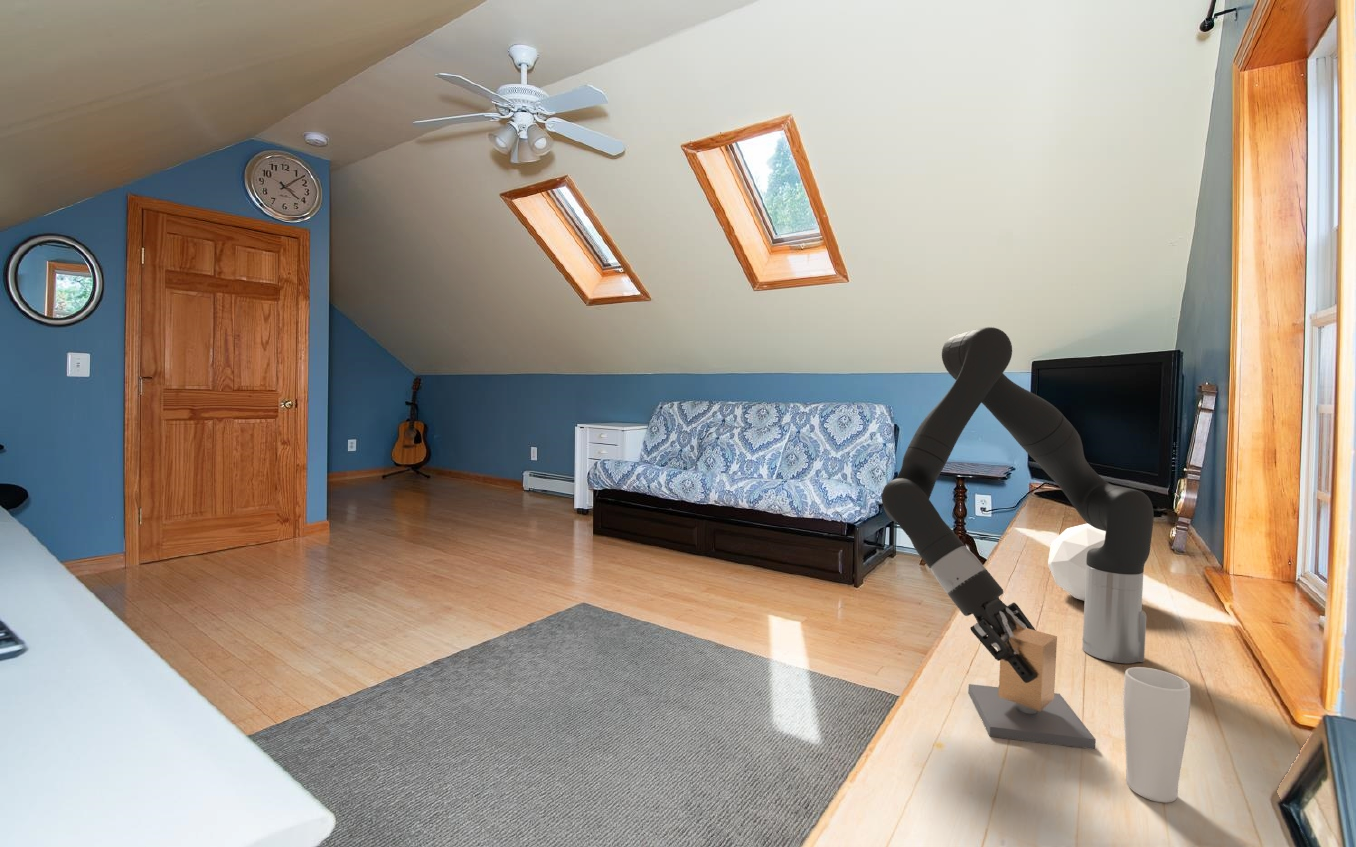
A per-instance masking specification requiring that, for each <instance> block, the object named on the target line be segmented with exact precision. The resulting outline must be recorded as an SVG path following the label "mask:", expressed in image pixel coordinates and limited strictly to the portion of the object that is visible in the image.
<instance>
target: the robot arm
mask: <svg viewBox="0 0 1356 847" xmlns="http://www.w3.org/2000/svg"><path fill="white" fill-rule="evenodd" d="M1012 356H1013V345H1012V341H1011V339H1010V336H1008V335H1007V333H1005V332H1004V331H1003V330H1001V329H999V328H997V327H992V326H991V327H990V326H987V327H979V328H977V329H973V330H969V331H965V332H963V333H959V334H956V335H953V336H951V337H950V338H949V339H947V340H946V341H945V343H944V344H943V347H942V349H941V360H942V364H943V366H944V368H945V370H946V371H947V373H948V374H949V375H950V376H951V378H953V379H954V380H955V381H954V383H953V385H951V387H950V389H949V390H948V391H947V392H946V394H945V395H944V396H943V398H941V400H940V401H939V402H938V404H936V405H935V407H934V408H933V409H932V410H931V411H929V413H928V414H927V415H926V416H925V417H924V419H923V420H922V422H921V423H920V424H919V426H918V428H917V430H916V431H915V432H914V434H913V437H912V439H911V441H910V443H909V445H908V446H907V449H906V451H905V453H904V455H903V458H902V465H901V468H900V470H899V472H898V474H897V475H896V476H897V477H896V478H894V479H892V480H890V481H889V482H888V483H886V485H885V486H884V487H883V489H882V492H881V502H882V503H881V504H882V507H883V509H884V512H885V513H886V515H887V517H888V518H889V519H890V520H891V521H893V522H895V523H897V524H898V525H899V527H900V528H901V530H902V531H903V532H904V533H905V535H907V537H908V538H909V539H910V541H911V543H912V546H913V547H914V549H915V551H916V552H917V554H918V555H919V556H920V558H921V559H922V560H923V561H924V563H925V564H926V566H928V568H929V569H930V571H931V572H932V574H933V576H934V577H935V579H936V580H937V582H938V583H939V585H940V586H941V588H942V589H943V591H944V592H945V593H946V594H947V595H948V596H949V598H950V599H951V600H952V602H953V603H954V605H955V606H956V607H957V608H958V609H959V611H960V612H961V614H962V615H963V616H965V617H969V616H971V615H973V617H974V618H975V619H976V622H977V623H975V624H973V625H972V626H970V630H971V632H972V634H973V635H974V636H975V637H976V638H977V639H978V641H979V642H980V643H981V644H982V646H984V647H985V649H986V650H987V651H988V652H989V654H991V656H992V657H993V658H994V660H996V661H998V662H1000V660H1001V659H1003V660H1004V661H1006V662H1007V661H1008V662H1009V663H1010V665H1011V666H1012V667H1013V669H1014V670H1015V671H1016V672H1017V674H1018V675H1019V676H1020V678H1021V679H1022V680H1023V681H1024V682H1025V683H1028V682H1030V681H1032V680H1034V679H1035V678H1037V674H1036V672H1035V671H1034V670H1033V669H1032V667H1031V666H1030V665H1029V664H1028V662H1027V661H1026V660H1025V658H1024V657H1023V656H1022V655H1021V654H1020V655H1019V651H1018V649H1017V647H1016V646H1015V645H1014V644H1013V642H1012V641H1011V639H1012V637H1014V635H1013V633H1012V631H1013V630H1015V629H1017V628H1016V625H1017V626H1018V627H1019V628H1021V629H1026V628H1028V629H1032V630H1035V631H1037V630H1036V629H1035V627H1034V626H1033V625H1032V623H1031V622H1030V621H1029V618H1028V617H1027V616H1026V615H1025V614H1024V612H1023V611H1022V610H1021V608H1020V606H1019V605H1018V604H1017V603H1016V602H1012V603H1010V604H1008V605H1007V604H1006V603H1004V602H1003V601H1002V600H1001V599H1000V597H1001V596H1002V595H1003V594H1004V589H1003V588H1002V586H1001V585H1000V584H999V583H998V582H997V580H996V579H995V578H994V576H992V574H991V573H990V572H989V571H988V569H987V568H986V567H985V566H984V565H983V563H982V562H981V561H980V560H979V559H978V557H977V556H976V555H975V554H974V553H973V552H972V551H970V550H969V548H967V546H965V544H964V543H963V541H962V540H961V539H960V538H959V537H958V535H957V534H956V533H955V532H954V531H953V529H952V528H951V527H949V525H948V524H947V523H946V522H945V521H944V520H943V518H942V517H941V515H940V513H939V512H938V510H937V509H936V507H935V506H934V504H933V503H932V502H931V499H930V498H931V495H932V494H933V491H934V488H935V485H936V481H937V480H938V478H939V476H940V474H941V473H942V472H943V469H944V468H945V466H946V464H947V462H948V460H949V458H950V456H951V454H952V453H953V451H954V448H955V446H956V443H957V441H958V440H959V438H960V437H961V434H962V433H963V431H964V429H965V428H966V426H967V425H968V423H969V421H970V420H971V418H972V416H973V415H974V414H975V412H976V411H977V409H978V408H979V407H980V405H981V404H982V405H984V407H985V408H986V409H987V410H988V411H989V412H990V413H991V414H992V415H993V417H994V418H995V419H996V420H997V421H998V422H999V423H1000V424H1001V425H1002V426H1003V427H1004V428H1005V429H1006V430H1007V431H1008V432H1009V434H1010V435H1011V436H1012V438H1014V440H1015V441H1016V442H1017V443H1018V444H1019V446H1021V448H1022V449H1023V450H1024V451H1025V452H1026V453H1027V454H1028V455H1029V457H1031V459H1033V460H1034V461H1035V462H1036V463H1037V464H1038V465H1039V467H1041V469H1042V470H1043V471H1044V472H1045V473H1046V474H1047V475H1048V477H1050V479H1051V480H1053V481H1054V482H1055V484H1056V485H1057V486H1058V487H1059V488H1060V490H1061V491H1062V492H1063V493H1064V495H1065V497H1066V498H1067V499H1068V500H1069V502H1070V504H1071V505H1072V506H1073V508H1074V509H1075V510H1076V512H1077V513H1078V515H1080V517H1081V518H1082V520H1084V522H1086V524H1087V523H1088V524H1089V525H1091V526H1093V527H1094V528H1097V529H1100V530H1103V531H1106V534H1105V541H1104V545H1103V546H1102V547H1100V548H1093V549H1090V550H1089V551H1088V552H1087V559H1086V582H1085V601H1084V606H1083V608H1084V609H1083V626H1082V629H1083V630H1082V650H1083V652H1085V653H1086V654H1088V655H1090V656H1092V657H1094V658H1097V659H1100V660H1104V661H1107V662H1112V663H1116V664H1134V663H1145V652H1146V651H1145V650H1146V649H1145V648H1146V631H1147V628H1146V627H1147V613H1146V612H1145V611H1144V610H1143V609H1142V608H1143V592H1144V591H1143V589H1144V569H1145V564H1146V562H1147V560H1148V559H1149V556H1150V554H1151V553H1150V552H1151V544H1152V536H1153V527H1154V519H1155V518H1154V507H1153V504H1152V501H1151V499H1150V498H1149V496H1148V495H1147V494H1145V493H1144V492H1143V491H1141V490H1137V489H1135V488H1130V487H1125V486H1120V485H1116V484H1115V485H1114V484H1111V483H1109V482H1108V481H1106V480H1105V479H1104V478H1102V476H1100V475H1099V473H1097V472H1096V471H1095V470H1094V469H1093V467H1091V465H1090V464H1089V463H1088V461H1087V459H1086V457H1085V454H1084V453H1085V452H1084V446H1083V443H1082V438H1081V436H1080V433H1078V431H1077V429H1076V428H1075V427H1074V426H1073V424H1072V423H1071V422H1070V421H1069V420H1068V419H1067V418H1066V417H1065V416H1064V414H1063V413H1062V412H1061V411H1060V410H1059V409H1058V408H1057V407H1055V405H1053V404H1052V403H1050V402H1049V401H1047V400H1046V399H1045V398H1042V397H1040V396H1039V395H1037V394H1036V393H1033V392H1031V391H1029V390H1027V389H1025V388H1023V387H1022V386H1021V385H1018V384H1017V383H1015V382H1014V381H1012V380H1011V379H1010V378H1009V377H1007V375H1005V374H1004V372H1005V371H1006V369H1007V367H1008V366H1009V364H1010V362H1011V359H1012ZM1001 634H1005V635H1004V636H1003V637H1001ZM1006 642H1007V644H1008V646H1009V647H1008V646H1007V645H1006Z"/></svg>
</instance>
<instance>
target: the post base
mask: <svg viewBox="0 0 1356 847" xmlns="http://www.w3.org/2000/svg"><path fill="white" fill-rule="evenodd" d="M968 695H969V697H970V699H971V701H972V703H973V705H974V708H975V710H976V711H977V713H978V715H979V717H981V718H980V720H981V719H982V720H981V722H982V721H983V722H982V723H983V726H984V728H985V727H986V728H985V730H986V732H987V734H988V735H989V737H991V738H998V739H999V738H1000V739H1007V740H1015V741H1022V742H1031V743H1041V744H1048V745H1055V746H1056V745H1057V746H1065V747H1071V748H1081V749H1088V750H1096V744H1097V742H1096V741H1097V740H1096V739H1097V738H1095V737H1094V735H1093V734H1092V732H1091V731H1090V730H1089V729H1088V728H1087V727H1086V725H1085V724H1084V723H1083V721H1082V720H1081V718H1080V717H1079V716H1078V715H1077V714H1076V712H1075V711H1074V710H1073V709H1072V707H1071V706H1070V705H1069V704H1068V702H1067V700H1065V699H1064V697H1063V695H1061V693H1056V692H1054V699H1053V700H1052V701H1051V702H1050V703H1049V704H1048V705H1047V706H1046V707H1045V708H1044V709H1043V710H1042V711H1037V710H1035V709H1032V708H1029V707H1026V706H1023V705H1021V704H1018V703H1015V702H1012V701H1009V700H1007V699H1004V698H1001V697H999V686H993V685H992V686H989V685H983V684H982V685H981V684H972V683H968Z"/></svg>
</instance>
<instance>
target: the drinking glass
mask: <svg viewBox="0 0 1356 847" xmlns="http://www.w3.org/2000/svg"><path fill="white" fill-rule="evenodd" d="M1123 680H1124V681H1123V690H1122V692H1123V693H1122V695H1123V699H1122V706H1123V709H1122V710H1123V725H1124V743H1125V744H1124V746H1125V762H1126V763H1125V765H1126V769H1125V781H1126V784H1127V787H1129V788H1130V790H1132V791H1133V792H1134V793H1136V794H1137V795H1139V796H1141V797H1143V798H1145V799H1147V800H1149V801H1153V802H1158V803H1167V804H1168V803H1172V802H1174V801H1176V800H1177V798H1178V795H1179V783H1180V782H1179V781H1180V777H1181V776H1180V775H1181V770H1182V763H1183V758H1184V752H1185V746H1186V741H1187V735H1188V729H1189V723H1190V715H1191V714H1190V713H1191V685H1190V683H1189V682H1188V681H1187V680H1185V679H1184V678H1182V677H1180V676H1178V675H1176V674H1173V673H1170V672H1168V671H1165V670H1161V669H1158V668H1157V669H1156V668H1151V667H1143V666H1135V667H1132V666H1131V667H1128V668H1126V670H1125V671H1124V679H1123Z"/></svg>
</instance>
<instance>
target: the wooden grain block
mask: <svg viewBox="0 0 1356 847" xmlns="http://www.w3.org/2000/svg"><path fill="white" fill-rule="evenodd" d="M1016 628H1017V629H1015V630H1013V631H1012V633H1013V635H1014V637H1012V639H1011V641H1012V642H1013V644H1014V645H1015V646H1016V647H1017V649H1018V651H1019V655H1020V654H1021V655H1022V656H1023V657H1024V658H1025V660H1026V661H1027V662H1028V664H1029V665H1030V666H1031V667H1032V669H1033V670H1034V671H1035V672H1036V674H1037V678H1035V679H1034V680H1032V681H1030V682H1028V683H1025V682H1024V681H1023V680H1022V679H1021V678H1020V676H1019V675H1018V674H1017V672H1016V671H1015V670H1014V669H1013V667H1012V666H1011V665H1010V663H1009V662H1008V661H1007V662H1006V661H1004V660H1003V659H1001V660H1000V661H999V676H998V678H999V679H998V687H999V697H1001V698H1004V699H1007V700H1009V701H1012V702H1015V703H1018V704H1021V705H1023V706H1026V707H1029V708H1032V709H1035V710H1037V711H1042V710H1043V709H1044V708H1045V707H1046V706H1047V705H1048V704H1049V703H1050V702H1051V701H1052V700H1053V699H1054V693H1055V685H1056V666H1057V662H1056V661H1057V647H1058V646H1057V645H1058V644H1057V642H1058V636H1056V635H1054V634H1049V633H1046V632H1042V631H1039V630H1036V629H1035V630H1036V631H1035V630H1032V629H1028V628H1027V627H1026V629H1021V628H1019V627H1018V626H1017V625H1016ZM1004 635H1005V634H1001V637H1003V636H1004ZM1006 645H1007V646H1008V644H1007V642H1006ZM1008 647H1009V646H1008Z"/></svg>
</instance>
